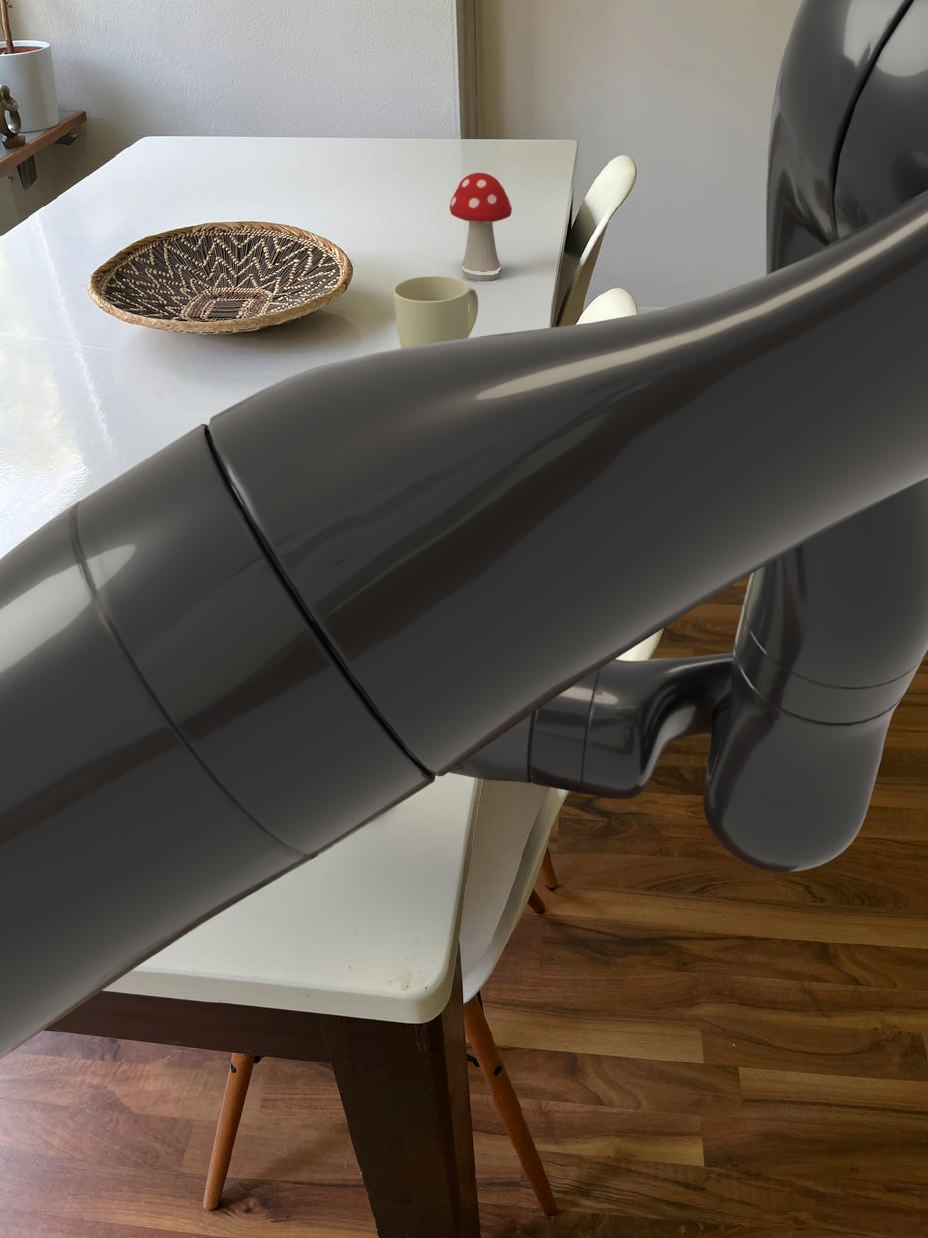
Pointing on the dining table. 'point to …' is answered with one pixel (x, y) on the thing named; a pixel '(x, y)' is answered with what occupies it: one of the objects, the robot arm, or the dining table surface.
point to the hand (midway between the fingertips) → (169, 649)
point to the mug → (434, 310)
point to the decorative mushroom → (480, 221)
